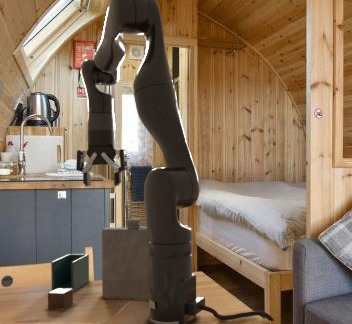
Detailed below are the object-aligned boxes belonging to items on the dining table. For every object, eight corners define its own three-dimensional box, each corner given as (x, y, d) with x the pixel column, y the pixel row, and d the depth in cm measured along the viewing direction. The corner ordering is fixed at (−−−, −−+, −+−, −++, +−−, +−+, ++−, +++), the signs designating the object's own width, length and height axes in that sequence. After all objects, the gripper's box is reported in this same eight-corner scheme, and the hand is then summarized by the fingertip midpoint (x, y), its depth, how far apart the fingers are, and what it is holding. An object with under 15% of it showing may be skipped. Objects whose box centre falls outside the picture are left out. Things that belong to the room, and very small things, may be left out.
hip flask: (100, 298, 116) (99, 219, 116) (107, 294, 120) (107, 217, 120) (160, 301, 113) (160, 220, 113) (166, 296, 117) (165, 218, 117)
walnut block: (57, 287, 111) (47, 292, 108) (72, 288, 111) (63, 293, 107) (57, 304, 112) (47, 309, 108) (73, 305, 111) (63, 310, 107)
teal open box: (68, 282, 132) (68, 254, 132) (89, 282, 132) (88, 254, 131) (51, 292, 122) (51, 261, 122) (73, 292, 122) (73, 262, 121)
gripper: (71, 129, 130) (72, 187, 130) (120, 128, 129) (122, 186, 129) (83, 131, 137) (84, 185, 137) (129, 130, 136) (130, 184, 136)
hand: (102, 185), depth 133 cm, fingers open, 8 cm apart
